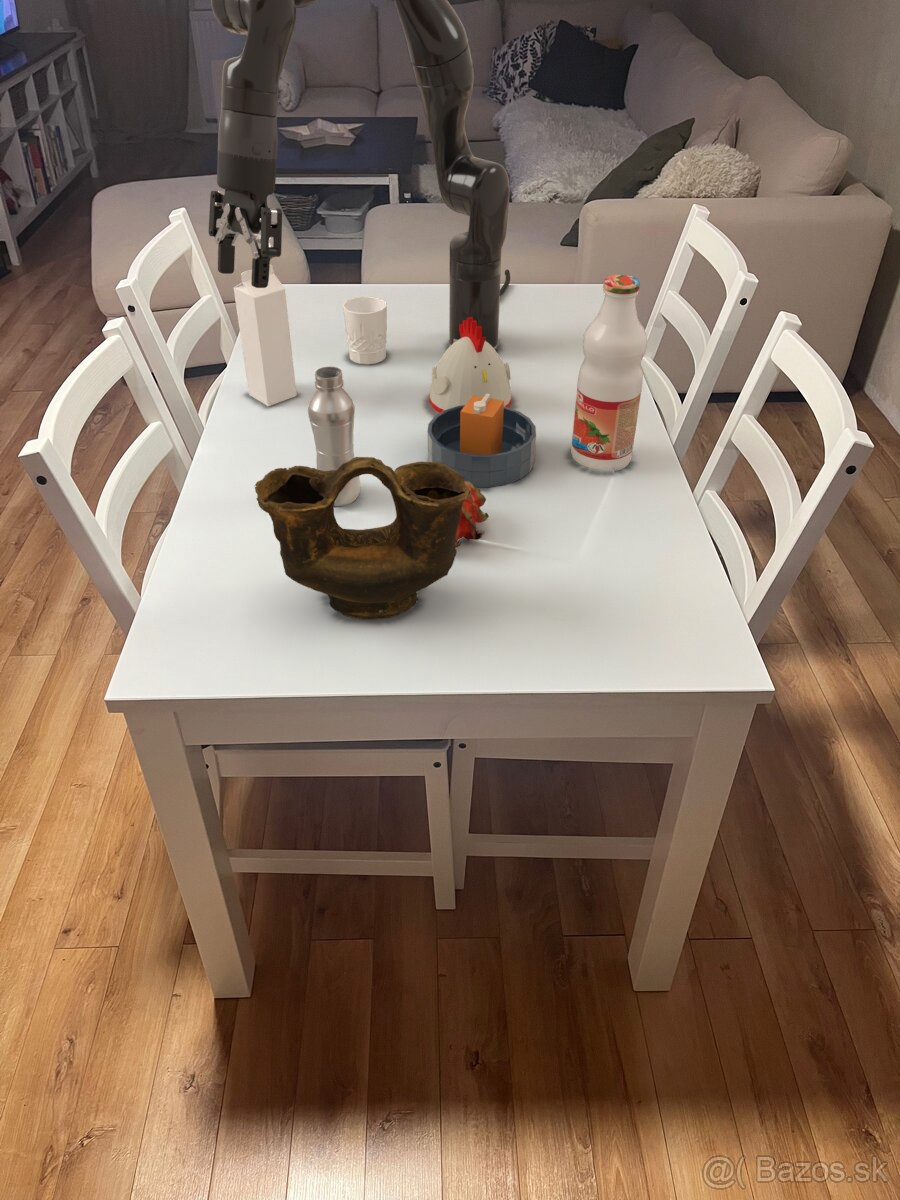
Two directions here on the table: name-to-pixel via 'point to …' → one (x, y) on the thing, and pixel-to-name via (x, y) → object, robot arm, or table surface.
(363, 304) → the white cup
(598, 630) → the table surface
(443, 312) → the table surface
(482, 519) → the dragon fruit
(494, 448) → the carton
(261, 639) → the table surface
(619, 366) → the fruit juice
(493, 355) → the kitchen timer
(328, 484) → the pottery vessel
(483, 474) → the bowl
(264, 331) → the milk
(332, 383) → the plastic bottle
